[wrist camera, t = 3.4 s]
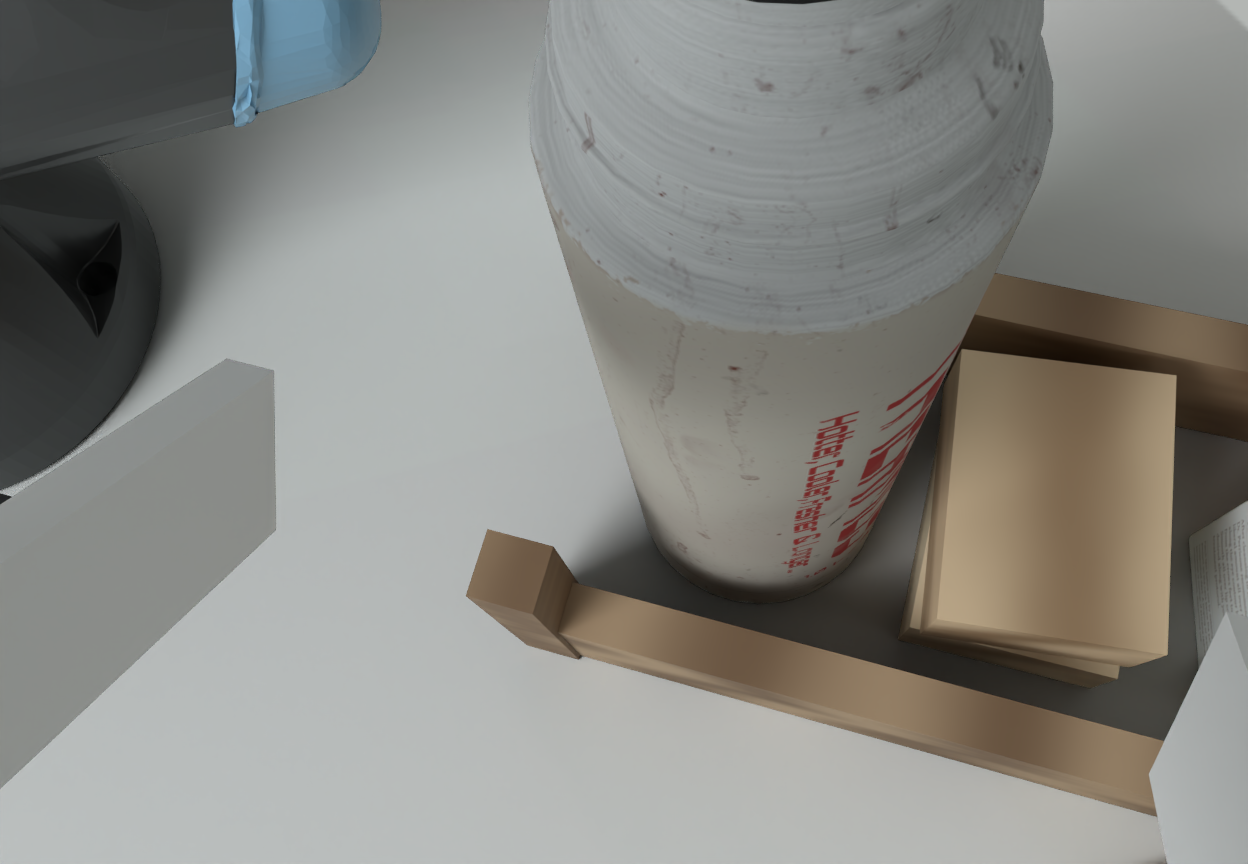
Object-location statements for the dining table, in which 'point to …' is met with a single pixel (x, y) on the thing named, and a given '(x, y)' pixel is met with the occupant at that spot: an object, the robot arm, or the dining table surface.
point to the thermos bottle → (781, 247)
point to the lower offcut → (1015, 659)
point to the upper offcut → (1052, 509)
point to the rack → (875, 694)
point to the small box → (1219, 573)
